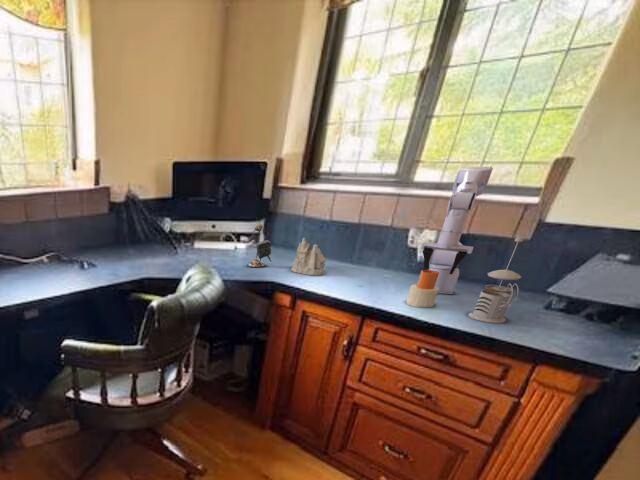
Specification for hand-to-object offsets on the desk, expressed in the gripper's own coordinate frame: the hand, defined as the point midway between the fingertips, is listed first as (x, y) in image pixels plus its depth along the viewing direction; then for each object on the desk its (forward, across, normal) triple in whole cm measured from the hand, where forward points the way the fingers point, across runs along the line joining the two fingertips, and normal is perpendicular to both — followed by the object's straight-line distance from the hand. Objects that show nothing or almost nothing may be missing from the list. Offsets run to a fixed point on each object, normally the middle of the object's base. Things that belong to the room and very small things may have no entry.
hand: (438, 271), depth 147 cm
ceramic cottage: (+10, -51, +16) cm, 54 cm away
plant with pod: (+10, -73, +10) cm, 75 cm away
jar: (+10, -2, -6) cm, 12 cm away
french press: (+11, +18, -9) cm, 23 cm away
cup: (+4, -2, -6) cm, 8 cm away
